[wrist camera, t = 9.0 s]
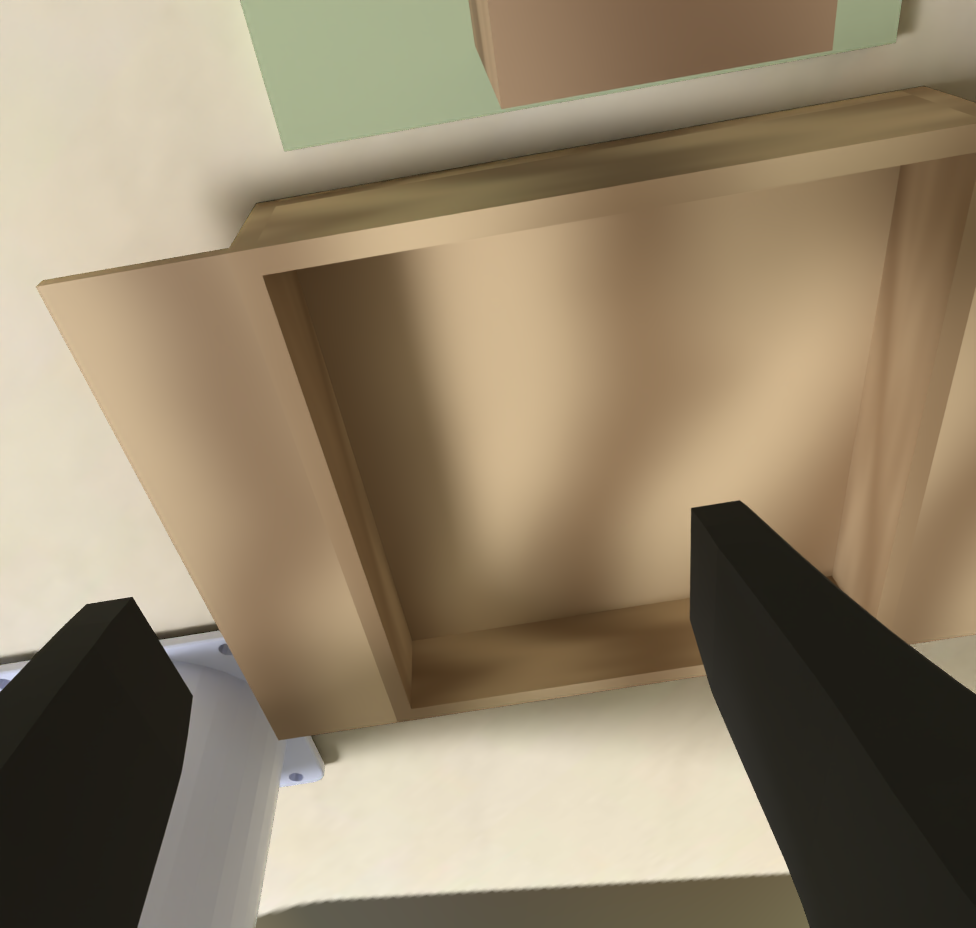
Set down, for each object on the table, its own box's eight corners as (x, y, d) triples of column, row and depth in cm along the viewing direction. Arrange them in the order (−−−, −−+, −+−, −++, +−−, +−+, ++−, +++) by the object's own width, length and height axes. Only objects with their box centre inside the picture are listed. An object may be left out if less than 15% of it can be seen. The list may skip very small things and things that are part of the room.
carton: (293, 658, 24) (278, 740, 22) (95, 231, 16) (36, 287, 14) (951, 555, 23) (1012, 628, 21) (1097, 55, 15) (1224, 80, 13)
